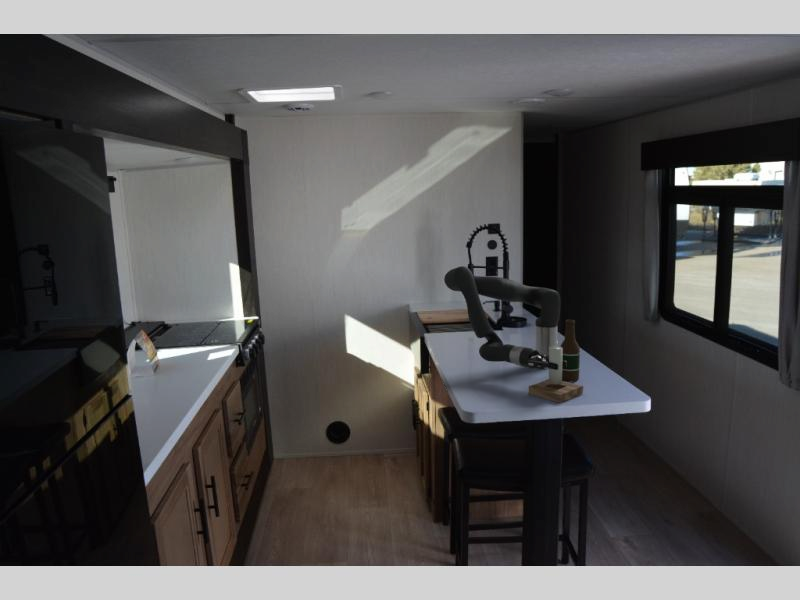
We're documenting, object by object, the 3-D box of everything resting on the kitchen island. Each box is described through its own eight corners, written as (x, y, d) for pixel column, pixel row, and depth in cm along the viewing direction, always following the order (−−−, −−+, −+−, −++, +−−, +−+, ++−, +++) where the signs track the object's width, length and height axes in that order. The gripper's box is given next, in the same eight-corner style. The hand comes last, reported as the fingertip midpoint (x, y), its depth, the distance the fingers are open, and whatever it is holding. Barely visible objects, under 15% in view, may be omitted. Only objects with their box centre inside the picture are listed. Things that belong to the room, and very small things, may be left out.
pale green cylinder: (553, 379, 229) (554, 345, 227) (564, 382, 225) (565, 348, 223) (546, 382, 226) (546, 348, 224) (557, 385, 222) (557, 350, 220)
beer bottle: (580, 382, 239) (581, 322, 235) (559, 381, 241) (560, 322, 237) (578, 376, 247) (579, 318, 243) (558, 376, 248) (559, 318, 244)
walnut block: (551, 385, 236) (551, 378, 236) (582, 393, 226) (583, 386, 225) (528, 394, 227) (528, 386, 227) (560, 402, 217) (560, 394, 216)
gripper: (512, 350, 230) (550, 359, 217) (536, 344, 239) (573, 352, 226) (512, 370, 231) (550, 379, 219) (535, 362, 240) (573, 371, 228)
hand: (562, 365), depth 223 cm, fingers closed on pale green cylinder, 4 cm apart
